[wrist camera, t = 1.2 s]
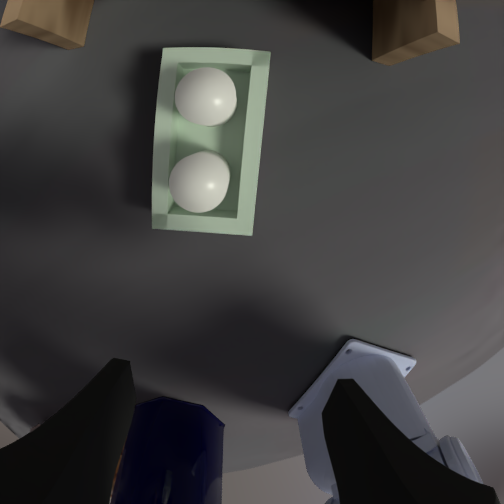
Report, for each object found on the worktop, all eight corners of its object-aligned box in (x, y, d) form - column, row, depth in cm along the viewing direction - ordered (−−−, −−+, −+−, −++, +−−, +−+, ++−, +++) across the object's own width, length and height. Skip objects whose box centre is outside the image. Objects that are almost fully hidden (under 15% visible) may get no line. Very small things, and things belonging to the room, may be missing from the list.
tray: (250, 221, 17) (253, 251, 13) (163, 215, 17) (139, 242, 12) (266, 63, 14) (275, 39, 9) (174, 59, 13) (151, 36, 9)
